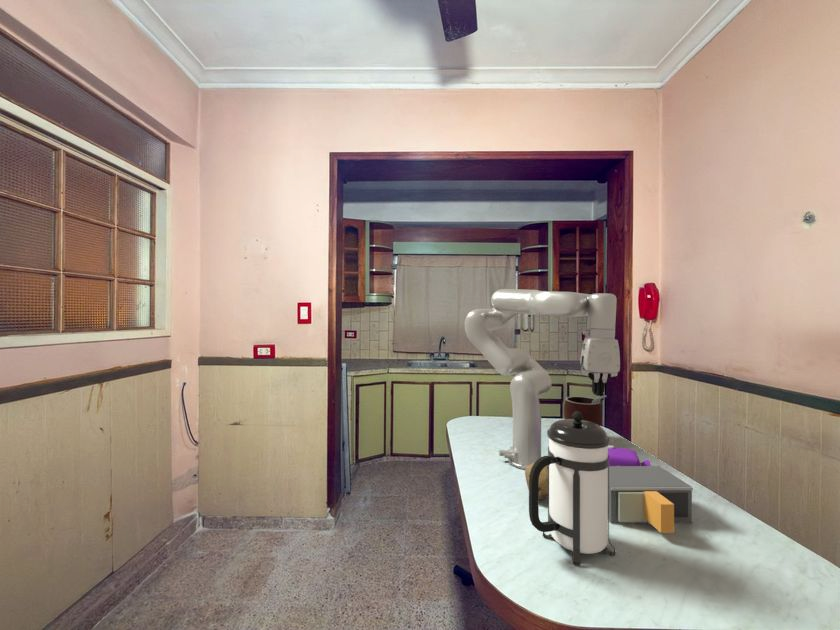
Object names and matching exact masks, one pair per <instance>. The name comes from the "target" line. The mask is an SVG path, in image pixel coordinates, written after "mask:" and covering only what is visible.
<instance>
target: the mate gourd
mask: <svg viewBox="0 0 840 630" xmlns="http://www.w3.org/2000/svg"><path fill="white" fill-rule="evenodd" d="M604 398H607V394H606V395H603V396H597V397H596V398H593V397H588V396H581V395H578V396H576V395H575V396H573V395H572V396H567V397H565V402H564V407H563V415H564V419H573V417H572V414H573V413H574V412H576V411H578V412H581V413H582V415H583V419H582V420H584V421H589V422H592V423H595V424H597V425H599V426H600V427H602V426H601V425H602V422H603V420H602V419H603V409H602V403H601V400H602V399H604Z"/></svg>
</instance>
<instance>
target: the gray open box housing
mask: <svg viewBox="0 0 840 630" xmlns="http://www.w3.org/2000/svg"><path fill="white" fill-rule="evenodd" d="M693 490H694V487H693V486H691V485H690V484H688V483H687V482H685V481H684V480H682V479H681V478H679V477H678V476H675V475H674V474H673V473H671V472H670V471H667V470H666V469H665V468H664V467H661V466H659V465H655V466H654V465H651V466H609V524H650V523H649V522H619V521H618V492H644V491H657V492H658V493H660V494H661V495H662V496H664V497H665V498H666V499H668V500H669V501H670V502H672V503H673V504H674V524H693Z"/></svg>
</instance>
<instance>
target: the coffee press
mask: <svg viewBox="0 0 840 630" xmlns="http://www.w3.org/2000/svg"><path fill="white" fill-rule="evenodd" d="M572 417H573V419H565V418H564V419H559V420H556V421H554V422H553V423H552V424H550V427H549V428H548V430H547V432H546V435H547V438H548V446H547V455H543V456H541V458H539V459H538V460H537V461H536V462H535V463H534V465H533V466H532V469H531V472H530V477H529V489H528V516H529V520H530V522H531V525H532V526H533V527H534V528H535V529H536V530H537V531H539V532H542V537H543V538H544V539H546V540H548V539H550V538H553V539H554V541H555V542H557V544H559V545H561V547H564V548H565V549H567V550H569V551H572V564H573V565H578V566H580V565H581V554H584V555H585V554H587V555H588V554H589V555H591V554H598V553H600V552H602V551H603V550H605V552H606V553H607V554H608V555H609V556H615V555H616V547H615V546H614V544H613V543H612V541H611V539H610V522H609V455H608V446H609V445H611V438H610V437H609V435H608V434H607V431H606V430H605V429H604V428H603V427H602V426H599V425H597V424H595V423H592V422H589V421H584V420H582V419H583V415H582V413H581V412H578V411H576V412H574V413H573V414H572ZM547 465H548V496H547V521H541V520H540V515H539V500H540V499H539V475H540V472H541V471H542V469H543V468H544V467H545V466H547ZM546 533H549V534H546ZM608 544H609V546H610V547H611V549H612V551H611V550H610V549H608V547H607V545H608Z"/></svg>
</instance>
